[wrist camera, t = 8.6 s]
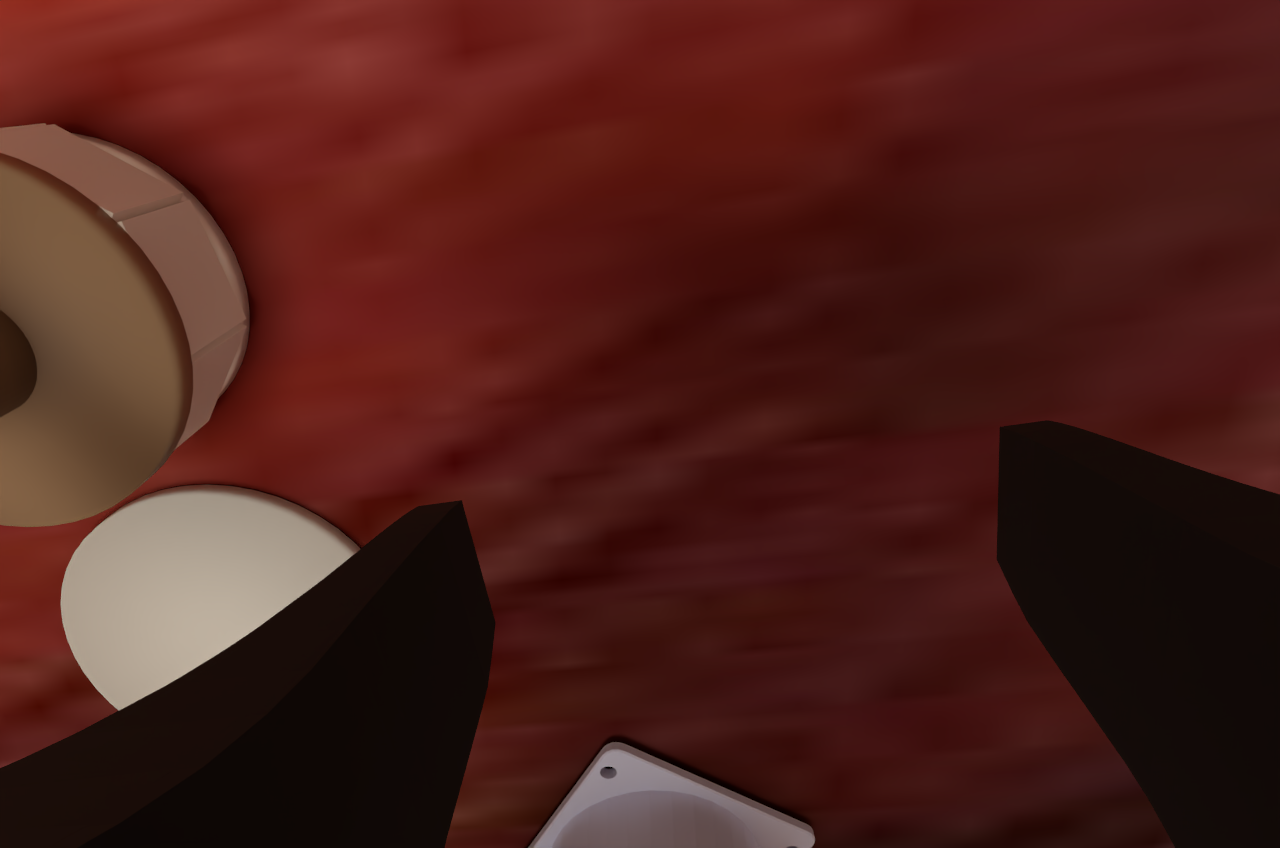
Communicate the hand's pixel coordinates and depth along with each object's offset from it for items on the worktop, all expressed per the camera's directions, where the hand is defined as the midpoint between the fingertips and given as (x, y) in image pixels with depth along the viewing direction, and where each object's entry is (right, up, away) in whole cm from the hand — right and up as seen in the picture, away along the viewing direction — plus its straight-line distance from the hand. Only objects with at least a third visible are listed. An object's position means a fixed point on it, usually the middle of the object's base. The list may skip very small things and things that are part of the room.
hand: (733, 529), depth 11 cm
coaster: (-13, -5, +13) cm, 19 cm away
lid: (-15, +3, +6) cm, 16 cm away
